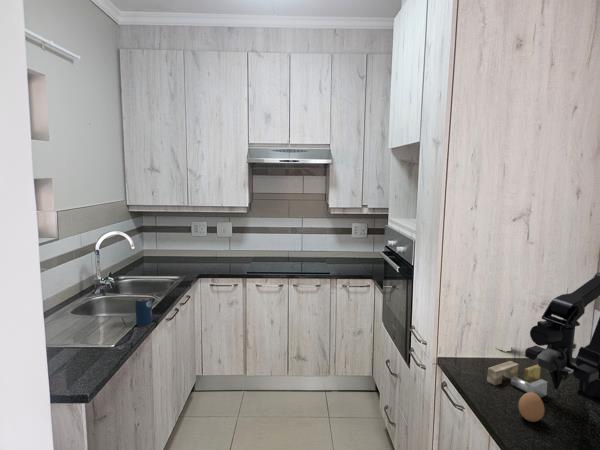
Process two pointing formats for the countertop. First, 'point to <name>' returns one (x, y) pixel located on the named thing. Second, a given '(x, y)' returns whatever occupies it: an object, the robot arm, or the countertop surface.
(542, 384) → the grey block with shaft
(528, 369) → the block
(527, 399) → the egg
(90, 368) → the countertop surface
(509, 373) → the block
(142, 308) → the soda can
